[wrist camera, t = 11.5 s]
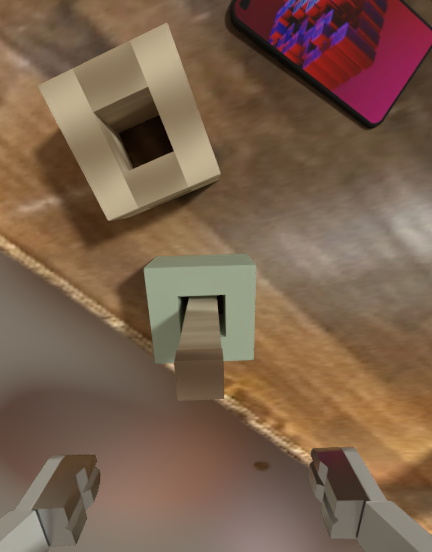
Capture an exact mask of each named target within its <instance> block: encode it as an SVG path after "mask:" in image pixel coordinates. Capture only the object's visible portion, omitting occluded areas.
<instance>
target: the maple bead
mask: <svg viewBox="0 0 432 552" xmlns="http://www.w3.org/2000/svg"><path fill="white" fill-rule="evenodd" d="M38 87H39V89H40V91H41V93H42V95H43V97H44V99H45V101H46V102H47V104H48V106H49V108H50V110H51V112H52V114H53V116H54V118H55V120H56V122H57V124H58V125H59V127H60V129H61V131H62V133H63V135H64V137H65V139H66V141H67V143H68V145H69V147H70V149H71V150H72V152H73V154H74V156H75V158H76V160H77V162H78V164H79V166H80V168H81V170H82V172H83V173H84V175H85V177H86V179H87V181H88V183H89V185H90V187H91V189H92V191H93V193H94V195H95V196H96V198H97V200H98V202H99V204H100V206H101V208H102V210H103V212H104V214H105V216H106V218H107V219H108V221H111V220H119V219H126V218H130V217H132V216H135V215H137V214H139V213H142V212H144V211H147V210H149V209H151V208H154V207H156V206H159V205H161V204H163V203H166V202H168V201H170V200H173V199H175V198H178V197H180V196H182V195H185V194H187V193H189V192H192V191H194V190H197V189H199V188H201V187H204V186H206V185H209V184H211V183H213V182H216V181H218V180H219V177H220V174H221V173H220V170H219V167H218V165H217V162H216V159H215V156H214V153H213V151H212V148H211V145H210V142H209V139H208V136H207V134H206V131H205V128H204V125H203V122H202V119H201V117H200V114H199V111H198V108H197V105H196V103H195V100H194V97H193V94H192V91H191V88H190V86H189V83H188V80H187V77H186V74H185V72H184V69H183V66H182V63H181V60H180V57H179V55H178V52H177V49H176V46H175V43H174V41H173V38H172V35H171V32H170V29H169V26H168V24H167V23H165V24H163V25H161V26H159V27H157V28H155V29H153V30H151V31H149V32H147V33H145V34H143V35H141V36H138V37H136V38H134V39H132V40H130V41H128V42H126V43H124V44H122V45H120V46H118V47H116V48H114V49H112V50H110V51H108V52H106V53H104V54H102V55H100V56H97V57H95V58H93V59H91V60H89V61H87V62H85V63H83V64H81V65H79V66H77V67H75V68H73V69H71V70H69V71H67V72H65V73H63V74H61V75H59V76H56V77H54V78H52V79H50V80H48V81H46V82H44V83H42V84H40V85H38ZM158 115H160V117H161V120H162V122H163V125H164V127H165V130H166V132H167V135H168V137H169V140H170V142H171V145H172V147H173V150H174V151H173V152H171V153H169V154H166V155H164V156H162V157H160V158H157V159H155V160H153V161H150V162H148V163H146V164H144V165H141V166H139V167H137V168H134V166H133V163H132V161H131V159H130V157H129V155H128V152H127V150H126V148H125V146H124V144H123V141H122V139H121V137H120V135H119V133H121V132H123V131H125V130H127V129H129V128H132V127H134V126H136V125H138V124H140V123H143V122H145V121H147V120H149V119H151V118H154V117H156V116H158Z"/></svg>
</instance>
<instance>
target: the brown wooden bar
mask: <svg viewBox="0 0 432 552" xmlns="http://www.w3.org/2000/svg"><path fill="white" fill-rule="evenodd" d="M174 367H175V377H176V388H177V399H178V401H183V400H207V399H224V363H223V350H222V348H221V338H220V327H219V316H218V304H217V295H204V296H189V300H188V305H187V309H186V314H185V319H184V323H183V328H182V332H181V337H180V342H179V346H178V350H176V355H175V359H174Z"/></svg>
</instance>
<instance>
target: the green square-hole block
mask: <svg viewBox="0 0 432 552" xmlns="http://www.w3.org/2000/svg"><path fill="white" fill-rule="evenodd" d="M144 275H145V284H146V292H147V300H148V308H149V317H150V325H151V333H152V341H153V350H154V358H155V364H162V363H174V359H175V355H176V350H178V346H179V342H180V337H181V332H182V328H183V323H184V319H185V314H186V312H185V297H184V296H204V295H223V314H218V316H219V327H220V338H221V348H222V350H223V361H235V360H254V326H255V289H256V264H255V263H254V261H253V260H252V259H251V258H250V257H249V255H248V254H222V255H190V256H157V257H155V258H154V259H153V260H152V261H151V262H150V263H149V264H148V265H147V266H146V267H144Z"/></svg>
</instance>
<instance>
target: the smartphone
mask: <svg viewBox="0 0 432 552" xmlns="http://www.w3.org/2000/svg"><path fill="white" fill-rule="evenodd" d="M230 15H231V21H232V23H233V25H234V26H235V27H236V28H237V29H238V30H239V31H241V32H242V33H243V34H245V35H246V36H247V37H249V38H250V39H251V40H252V41H254V42H255V43H256V44H258V45H259V46H260V47H262V48H263V49H264V50H266V51H267V52H268V53H269V54H271V55H272V56H273V57H275V58H276V59H278V60H279V61H280V62H281V63H282V64H284V65H285V66H286V67H288V68H289V69H290V70H291V71H293V72H295V73H296V74H297V75H299V76H300V77H301V78H303V79H304V80H305V81H307V82H308V83H309V84H311V85H312V86H313V87H315V88H316V89H317V90H318V91H320V92H321V93H322V94H324V95H325V96H326V97H328V98H329V99H330V100H332V101H333V102H334V103H336V104H337V105H338V106H340V107H341V108H342V109H344V110H345V111H346V112H347V113H349V114H350V115H351V116H353V117H354V118H355V119H357V120H358V121H359V122H361V123H362V124H363V125H365V126H366V127H368V128H374V127H376V126H378V125H380V124H381V123H382V122H383V120H384V119H385V118H386V116H387V115H388V113H389V112H390V110H391V109H392V107H393V106H394V104H395V103H396V101H397V100H398V98H399V97H400V95H401V94H402V92H403V91H404V89H405V88H406V86H407V85H408V83H409V82H410V80H411V79H412V77H413V76H414V74H415V73H416V71H417V70H418V68H419V67H420V65H421V64H422V62H423V61H424V59H425V58H426V56H427V55H428V53H429V52H430V50H431V49H432V27H431V26H430V25H429V24H428V23H427V22H426V21H425V20H424V19H423V18H422V17H421V16H419V15H418V14H417V13H416V12H415V11H414V10H413V9H412V8H411V7H410V6H409V5H408V4H407V3H406V2H405V1H404V0H233V2H232V6H231V14H230Z"/></svg>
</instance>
